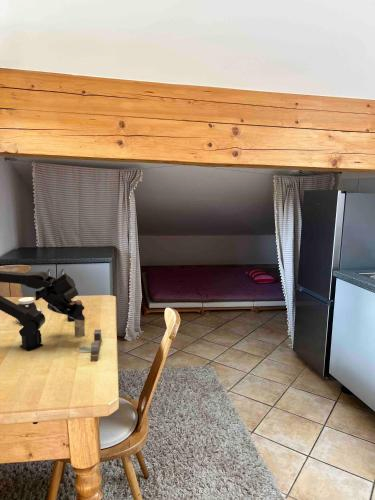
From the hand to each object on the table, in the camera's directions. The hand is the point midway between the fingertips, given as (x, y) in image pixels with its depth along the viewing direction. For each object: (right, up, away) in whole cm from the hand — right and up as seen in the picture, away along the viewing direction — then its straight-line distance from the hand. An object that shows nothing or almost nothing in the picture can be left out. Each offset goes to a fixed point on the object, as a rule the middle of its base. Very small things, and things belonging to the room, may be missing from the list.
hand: (77, 317), depth 147 cm
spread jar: (-28, -6, +17) cm, 33 cm away
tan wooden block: (0, -9, +2) cm, 9 cm away
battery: (-8, -6, +22) cm, 24 cm away
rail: (+8, -11, -11) cm, 18 cm away
